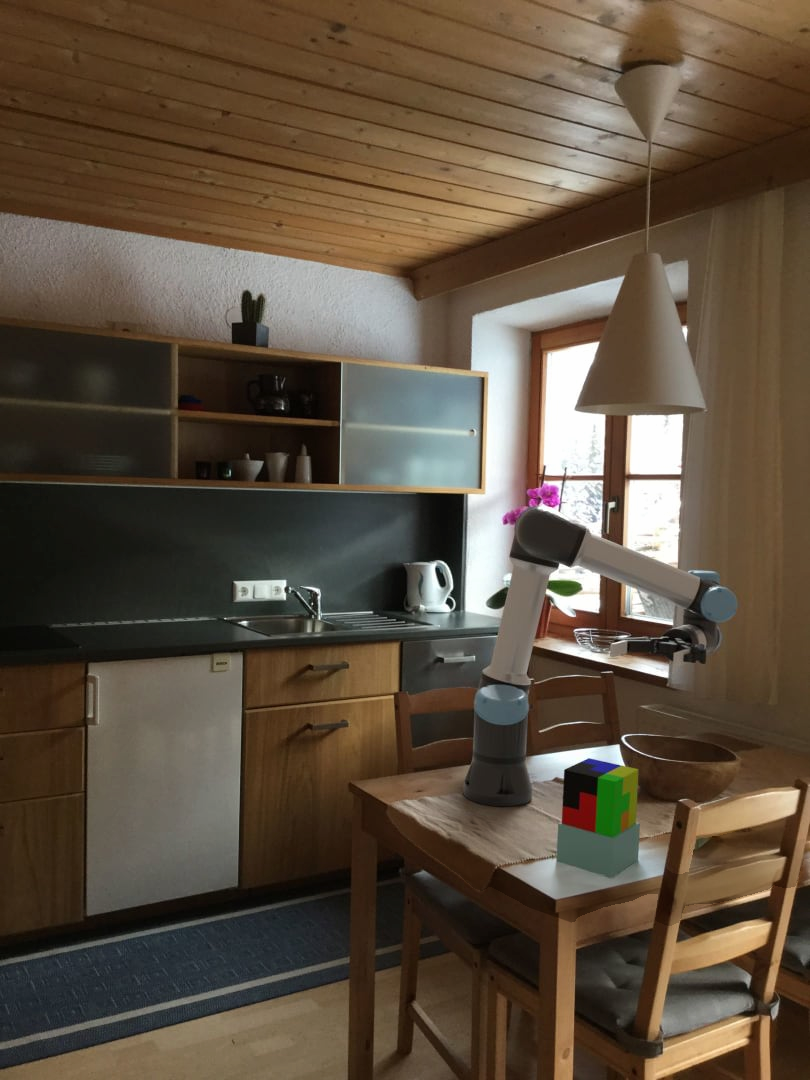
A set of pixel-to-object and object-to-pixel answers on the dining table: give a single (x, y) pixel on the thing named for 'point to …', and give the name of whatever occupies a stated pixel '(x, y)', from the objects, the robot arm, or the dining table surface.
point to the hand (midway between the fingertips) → (642, 655)
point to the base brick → (598, 849)
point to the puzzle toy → (600, 797)
